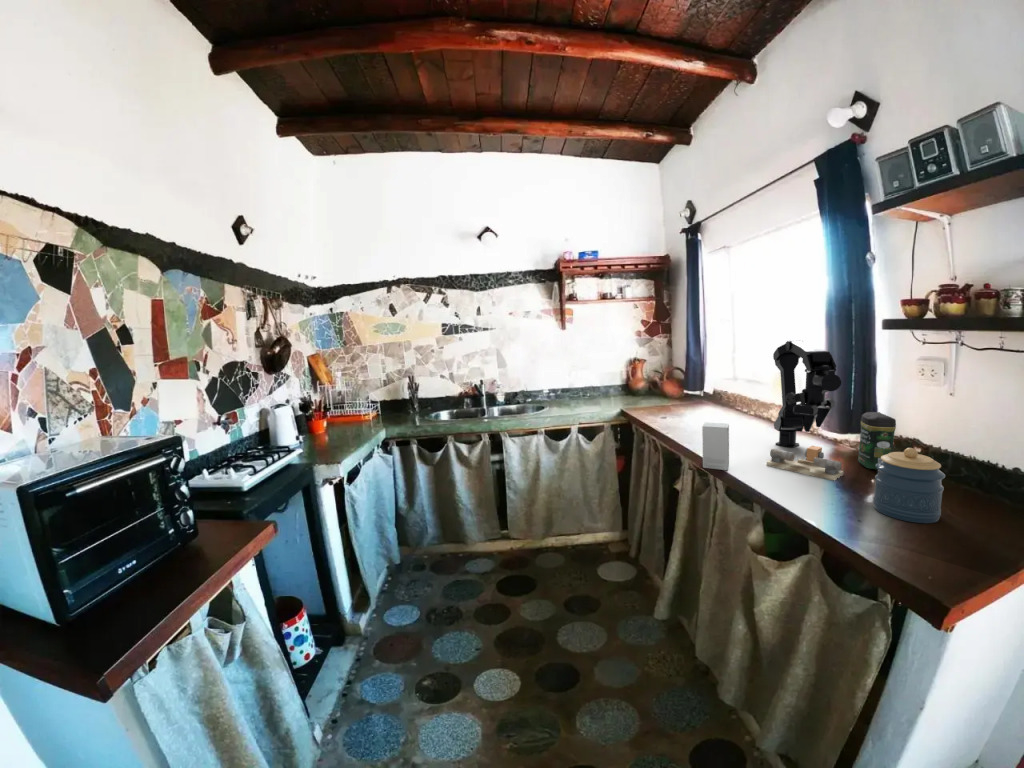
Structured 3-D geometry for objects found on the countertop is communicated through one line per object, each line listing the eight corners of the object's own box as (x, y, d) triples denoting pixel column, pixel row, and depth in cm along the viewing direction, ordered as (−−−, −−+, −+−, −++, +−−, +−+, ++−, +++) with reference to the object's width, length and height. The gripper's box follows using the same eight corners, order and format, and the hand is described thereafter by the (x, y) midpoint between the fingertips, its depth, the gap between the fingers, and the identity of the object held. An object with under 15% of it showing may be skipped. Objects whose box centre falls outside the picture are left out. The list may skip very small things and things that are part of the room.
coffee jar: (853, 460, 147) (857, 410, 145) (881, 462, 145) (885, 410, 142) (866, 470, 138) (871, 416, 136) (896, 472, 136) (901, 416, 133)
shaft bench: (766, 465, 147) (767, 451, 146) (776, 460, 152) (777, 446, 151) (834, 480, 131) (835, 465, 130) (843, 474, 136) (844, 459, 135)
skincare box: (729, 465, 149) (730, 423, 146) (727, 471, 143) (728, 427, 141) (703, 462, 153) (704, 421, 151) (701, 467, 148) (702, 425, 145)
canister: (880, 519, 106) (886, 453, 104) (866, 499, 117) (871, 439, 115) (950, 528, 100) (958, 458, 98) (928, 506, 111) (934, 443, 109)
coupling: (803, 460, 150) (803, 447, 149) (808, 458, 152) (809, 445, 152) (819, 464, 146) (820, 450, 145) (824, 461, 148) (825, 448, 148)
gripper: (801, 380, 157) (799, 420, 159) (777, 387, 146) (775, 429, 149) (836, 383, 147) (833, 426, 150) (814, 390, 137) (811, 436, 140)
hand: (812, 429), depth 147 cm, fingers open, 9 cm apart
